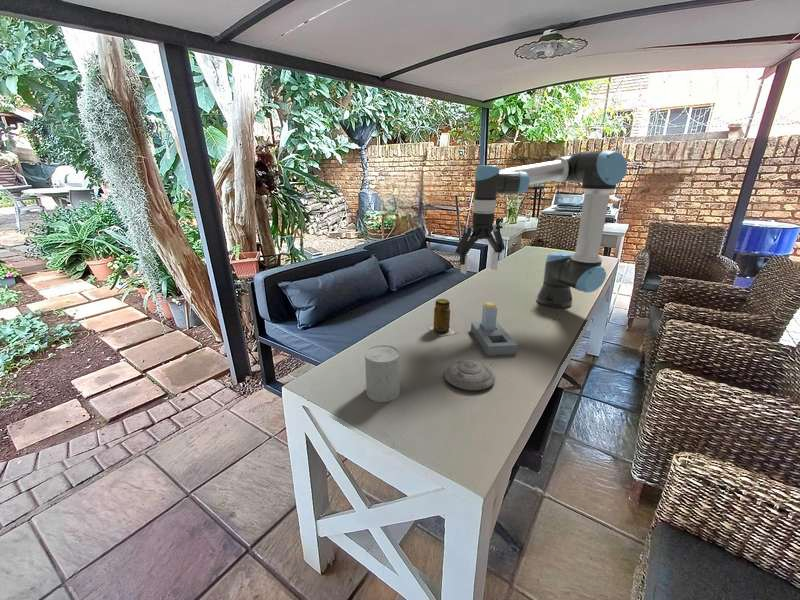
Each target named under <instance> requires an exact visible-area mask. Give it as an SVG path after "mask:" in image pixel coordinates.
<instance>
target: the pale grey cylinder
mask: <svg viewBox="0 0 800 600" xmlns="http://www.w3.org/2000/svg"><path fill="white" fill-rule="evenodd" d="M400 355H401V352H400V350H399V349H398V348H397V347H395V346H392V345H387V344H385V345H383V344H381V345H380V344H378V345H374V346H371V347H369V348H367V349H366V351H364V358H365V359H364V362H365V366H364V367H365V381H366V382H365V388H366V391H365V392H366V396H367V398H369V400H372V401H374V402H379V403H385V402H391V401H393V400H395V399H397V398H398V397H399V396H400V393H401V389H400V388H401V387H400V386H401V385H400V384H401V383H400V381H401V380H400V379H401V378H400V377H401V376H400V367H401V366H400V365H401V364H400V361H401V360H400V359H401V358H400Z"/></svg>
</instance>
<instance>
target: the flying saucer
mask: <svg viewBox="0 0 800 600" xmlns="http://www.w3.org/2000/svg"><path fill="white" fill-rule="evenodd" d="M443 375H444V379H445V380H446V381H447V382H448V384H449V385H452V386H454V388H458V389H461V390H464V391H465V390H466V391H481V390H485V389H488V388H491V386H492V385H493V384H494V383H495V380H496V376H495V374H494V372H493V370H491V368H490V367H489V366H487V365H485V364H484V363H482V362H479V361H477V360H471V359H462V360H457V361H455V362H453V363H452V362H451V364H449V365H447V367H446V368H445V370H444V372H443Z"/></svg>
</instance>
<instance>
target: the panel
mask: <svg viewBox="0 0 800 600" xmlns="http://www.w3.org/2000/svg"><path fill="white" fill-rule="evenodd" d="M481 324H482V321H471V323H470V332H471V333H472V335H473V336H474V338H475V339H476V341H477V342H478V343H479V345H480V347H481V348H482V350H483V351H484V353H485V354H486V356H488V357H490V356H492V357H494V356H508V355H510V356H511V355H517V353H518V352H517V351H518V344H517V343H516V342H515V340H514V339H513V338H512V337H511V336H510V334H508V332H507V331H506V329H504V328H503V326H502V325H501V324H500V323H499V322H498V321H497V320H496V328H495V330H483V329H482V328H481Z"/></svg>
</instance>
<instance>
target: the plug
mask: <svg viewBox="0 0 800 600" xmlns="http://www.w3.org/2000/svg"><path fill="white" fill-rule="evenodd" d="M481 314H482V315H481V322H482V324H481V328H482V329H483V330H495V328H496V321H497V315H498V307H497V305H496V304H495V302H493V301H491V302H490V301H489V302H488V301H487V302H484V304H483V305H482V313H481Z"/></svg>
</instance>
